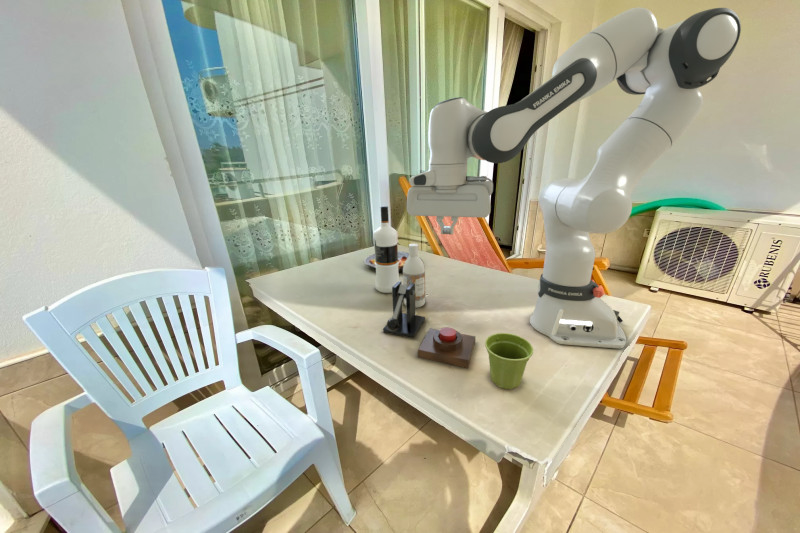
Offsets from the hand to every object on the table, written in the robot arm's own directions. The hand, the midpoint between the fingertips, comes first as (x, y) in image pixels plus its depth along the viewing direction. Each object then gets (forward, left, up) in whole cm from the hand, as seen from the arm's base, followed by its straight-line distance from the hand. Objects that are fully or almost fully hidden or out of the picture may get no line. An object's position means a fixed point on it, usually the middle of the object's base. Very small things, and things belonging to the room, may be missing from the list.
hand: (447, 233), depth 76 cm
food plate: (+34, -42, -27) cm, 61 cm away
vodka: (+26, -18, -27) cm, 42 cm away
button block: (-3, +11, -27) cm, 29 cm away
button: (-3, +11, -23) cm, 26 cm away
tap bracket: (+11, +4, -27) cm, 29 cm away
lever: (+11, +7, -20) cm, 24 cm away
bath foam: (+13, -10, -27) cm, 32 cm away
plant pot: (-17, +17, -27) cm, 36 cm away
